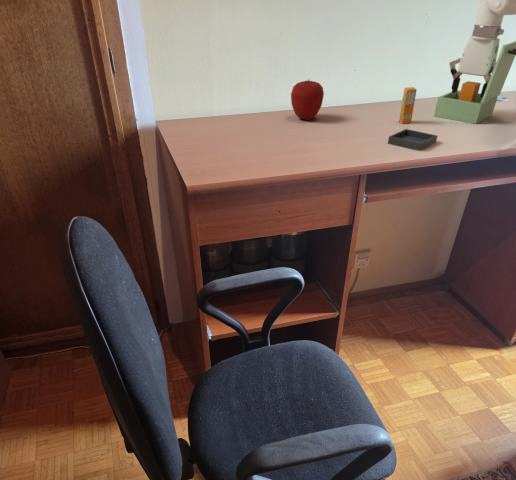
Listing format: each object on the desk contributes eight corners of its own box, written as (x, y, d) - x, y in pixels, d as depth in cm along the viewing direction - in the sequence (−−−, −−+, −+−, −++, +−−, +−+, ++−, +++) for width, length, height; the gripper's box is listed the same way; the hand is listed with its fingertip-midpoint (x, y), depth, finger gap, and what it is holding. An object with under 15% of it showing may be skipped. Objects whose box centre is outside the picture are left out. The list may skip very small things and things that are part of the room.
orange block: (472, 112, 154) (481, 83, 148) (467, 115, 151) (475, 85, 145) (460, 110, 156) (467, 81, 150) (454, 113, 153) (462, 83, 147)
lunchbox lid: (502, 45, 132) (521, 49, 129) (519, 40, 140) (537, 43, 137) (480, 102, 142) (498, 107, 140) (497, 94, 150) (513, 99, 148)
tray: (436, 142, 132) (437, 135, 130) (420, 150, 126) (421, 143, 125) (404, 135, 137) (405, 128, 136) (387, 143, 131) (388, 136, 130)
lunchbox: (433, 115, 154) (438, 97, 150) (451, 108, 162) (455, 90, 158) (475, 123, 146) (481, 104, 142) (491, 115, 154) (497, 96, 150)
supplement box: (397, 121, 149) (404, 86, 142) (407, 120, 149) (414, 86, 142) (400, 123, 146) (407, 89, 140) (411, 123, 146) (418, 89, 140)
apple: (291, 113, 156) (293, 75, 148) (322, 115, 155) (325, 76, 147) (288, 122, 148) (289, 82, 140) (320, 123, 146) (324, 83, 139)
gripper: (518, 33, 136) (498, 96, 148) (463, 28, 145) (448, 88, 156) (509, 36, 132) (489, 100, 143) (453, 31, 141) (438, 92, 152)
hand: (468, 94), depth 150 cm, fingers open, 9 cm apart
